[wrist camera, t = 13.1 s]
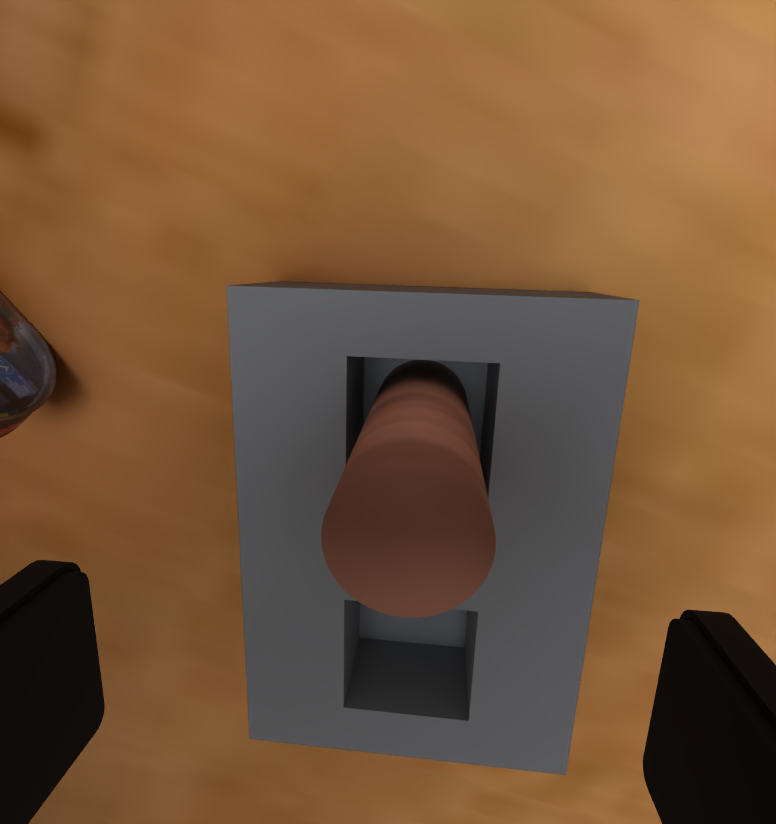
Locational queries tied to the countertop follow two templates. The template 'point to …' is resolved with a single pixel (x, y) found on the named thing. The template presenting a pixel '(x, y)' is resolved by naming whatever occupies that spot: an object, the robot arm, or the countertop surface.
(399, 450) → the pin
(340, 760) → the countertop surface
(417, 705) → the bore block
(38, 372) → the tin
